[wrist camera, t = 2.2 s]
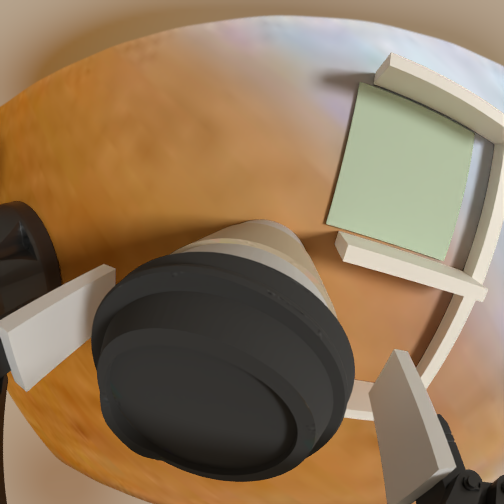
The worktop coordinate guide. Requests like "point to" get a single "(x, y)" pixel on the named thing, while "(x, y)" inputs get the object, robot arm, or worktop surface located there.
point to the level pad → (401, 173)
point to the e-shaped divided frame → (419, 268)
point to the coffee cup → (224, 356)
